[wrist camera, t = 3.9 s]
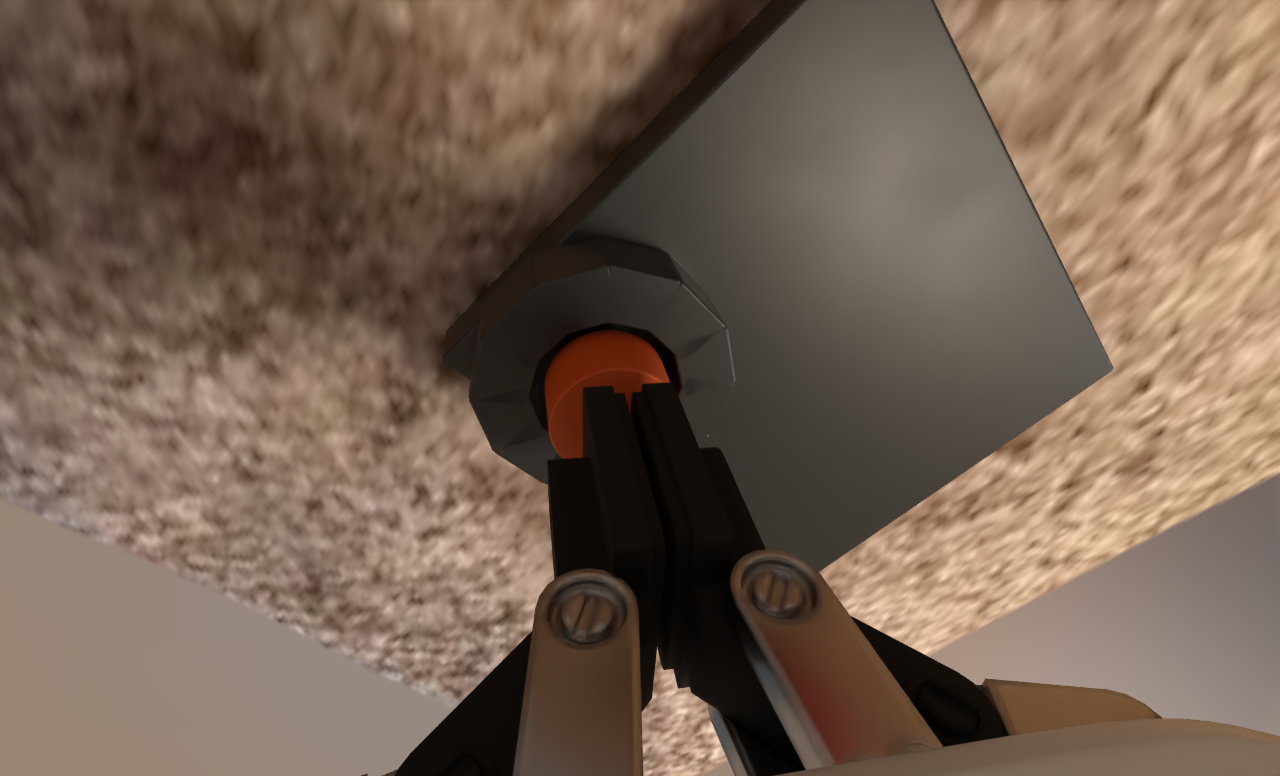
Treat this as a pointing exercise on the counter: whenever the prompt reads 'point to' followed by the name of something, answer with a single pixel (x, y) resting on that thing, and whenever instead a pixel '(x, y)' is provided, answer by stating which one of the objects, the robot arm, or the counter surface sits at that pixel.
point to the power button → (594, 380)
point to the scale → (806, 276)
